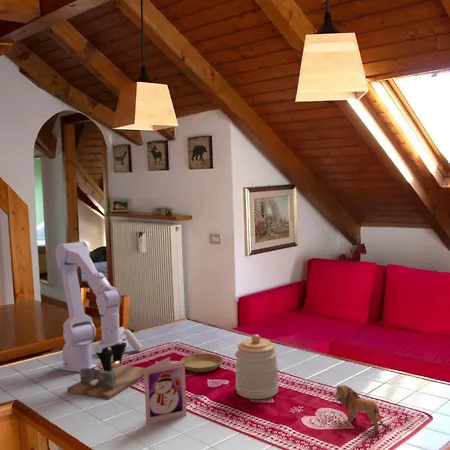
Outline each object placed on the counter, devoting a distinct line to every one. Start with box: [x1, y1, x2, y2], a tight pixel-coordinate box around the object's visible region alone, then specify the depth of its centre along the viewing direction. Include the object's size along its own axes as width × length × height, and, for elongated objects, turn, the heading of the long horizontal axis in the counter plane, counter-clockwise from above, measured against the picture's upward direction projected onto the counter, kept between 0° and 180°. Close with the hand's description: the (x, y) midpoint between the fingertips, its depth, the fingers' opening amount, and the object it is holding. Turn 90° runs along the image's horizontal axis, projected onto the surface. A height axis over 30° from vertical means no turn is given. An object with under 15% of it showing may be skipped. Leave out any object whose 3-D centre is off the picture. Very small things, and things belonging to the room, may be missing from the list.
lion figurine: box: [334, 384, 389, 432], centre depth 147 cm, size 15×5×9 cm, turn 50°
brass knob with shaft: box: [90, 358, 120, 387], centre depth 178 cm, size 5×13×5 cm, turn 155°
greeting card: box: [143, 356, 187, 424], centre depth 154 cm, size 11×7×15 cm, turn 114°
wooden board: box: [66, 364, 146, 400], centre depth 181 cm, size 16×24×6 cm, turn 155°
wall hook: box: [119, 326, 143, 352], centre depth 213 cm, size 8×10×10 cm
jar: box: [234, 334, 279, 400], centre depth 169 cm, size 13×13×18 cm
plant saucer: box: [179, 353, 224, 373], centre depth 194 cm, size 15×15×3 cm
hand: (112, 368), depth 182 cm, fingers closed on brass knob with shaft, 5 cm apart
